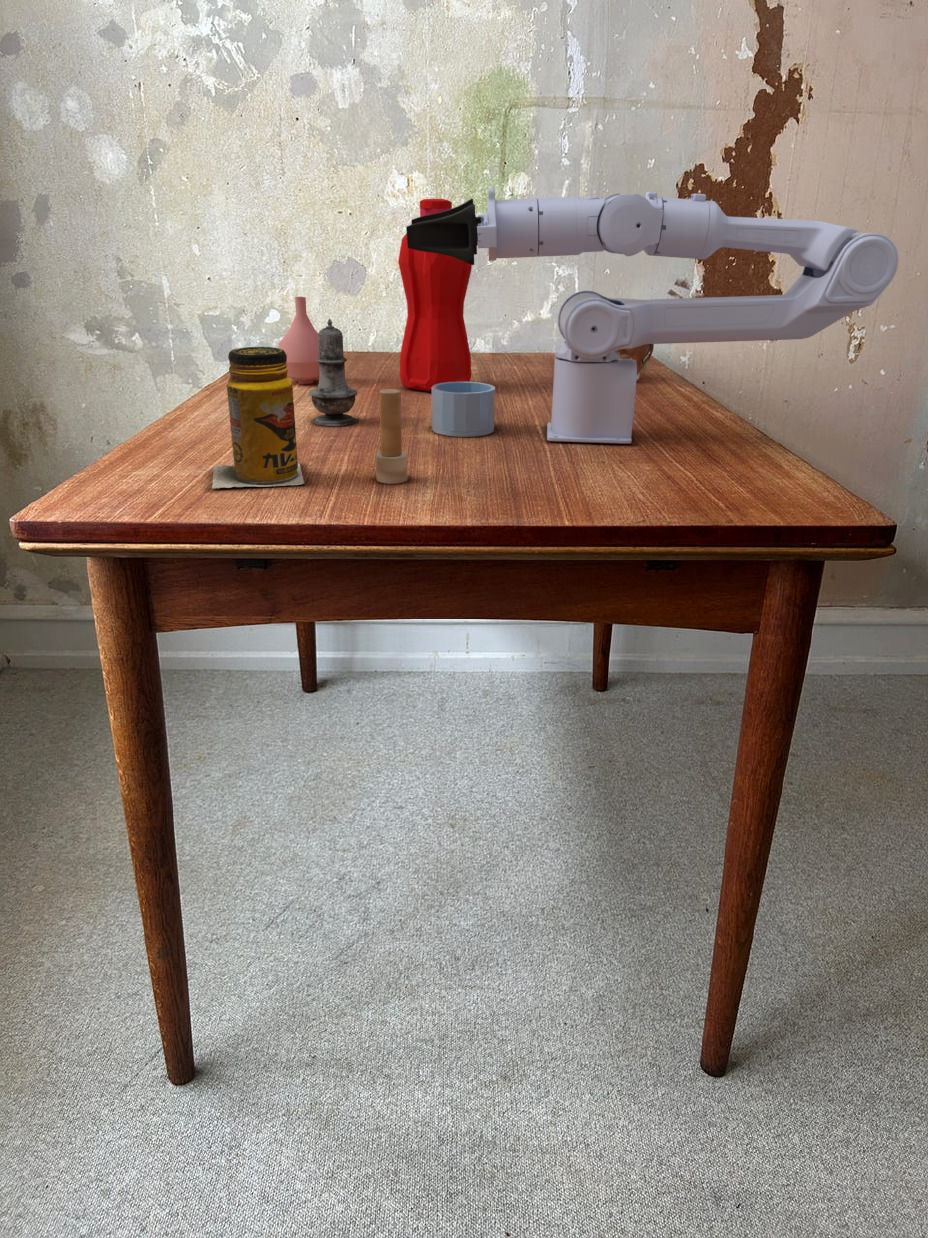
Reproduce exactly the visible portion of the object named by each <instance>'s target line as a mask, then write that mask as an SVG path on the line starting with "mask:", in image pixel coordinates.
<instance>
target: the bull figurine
mask: <svg viewBox="0 0 928 1238" xmlns="http://www.w3.org/2000/svg"><path fill="white" fill-rule="evenodd" d="M654 345H655V344H645V345H641V346H638V347H635V348H632V349H619V350H617V351H618V352H619V353H620V354H619V358H620V359H632V360H636V364H637V380H636V382H637V381H638V380H640V375H641V372H642V373H645V372H646V371H647V369H648V367H649V364H650V361H651V357H652V355H653V353H654V348H655V346H654ZM645 358H646V359H645Z"/></svg>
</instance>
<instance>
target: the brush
mask: <svg viewBox="0 0 928 1238" xmlns="http://www.w3.org/2000/svg"><path fill="white" fill-rule="evenodd" d="M378 392H379V393H378V395H379V396H378V399H379V428H380V429H379V432H380V436H379V437H380V451H378V452H376V453H375V477H376V478H375V479H376V481H377V482H379V483H381V484H388V485H397V484H402V483H405V482H407V481H408V453H406V452H405V451H403V448H402V447H403V446H402V445H403V444H402V443H403V442H402V391H401V389H400V390H399V389H396V388H386V389H381V390H380V389H379V391H378Z"/></svg>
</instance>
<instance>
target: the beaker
mask: <svg viewBox="0 0 928 1238" xmlns="http://www.w3.org/2000/svg"><path fill="white" fill-rule="evenodd" d="M496 389H497V388H496V386H495V385H492V384H491V383H485V382H478V381H470V382H462V381H461V382H460V381H459V382H445V383H439V384H435V385H433V386H432V392H431V430H432V431H433V432H434V433H435V434H438V435H442V436H445V437H446V436H447V437H452V438H453V437H454V438H455V437H456V438H474V437H475V438H477V437H483V436H487V435H490V434H492V433H493V432H494V431H495V422H496Z"/></svg>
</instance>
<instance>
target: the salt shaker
mask: <svg viewBox="0 0 928 1238" xmlns="http://www.w3.org/2000/svg"><path fill="white" fill-rule="evenodd" d="M326 324H327V325H326V326H325V327H324V328H321V329H320V330H319V332H318V333H319V334H318V341H319V358H318V359H316V361H317V362H319V371H320V377H319V378H318V379H319V380H318V384H317V386H316V387H315V388H314V389H310V391H308V395H309V396H311V403H312V405H313V406H314V408H315V409H316V410H317V411H318V412H319V413H322V414H321V415H320V414H319V415H317V416H316V417H315V418H314V419H313V420H312V423H313V424H314V425H317V426H321V427H346V426H350V425H354V424H356V423H357V419H356V418H355V417H353V416H352V415H349V414H345V413H349V412H350V411H351V409H352V408H353V407H354V405H355V402H356V396H357V395H358V393H359V392H358V390H356V389H355V388H351V387H350V386H349V385H348V383H347V378H346V365H345V363H346V362H347V361H348V359H347V358H346V357H345V355H344V337H343V332H342V331H341V330H340V329H339V328H337V327H335V326H333V321H332V320H331V318H328V320H327V322H326Z"/></svg>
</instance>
